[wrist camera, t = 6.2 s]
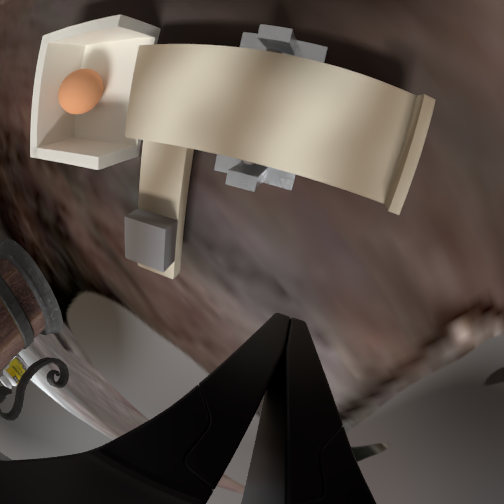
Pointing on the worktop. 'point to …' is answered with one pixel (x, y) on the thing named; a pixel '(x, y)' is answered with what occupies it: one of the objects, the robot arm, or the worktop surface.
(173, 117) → the lever
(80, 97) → the ball
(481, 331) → the worktop surface
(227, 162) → the fulcrum
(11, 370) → the supplement bottle
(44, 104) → the tray
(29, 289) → the tankard
